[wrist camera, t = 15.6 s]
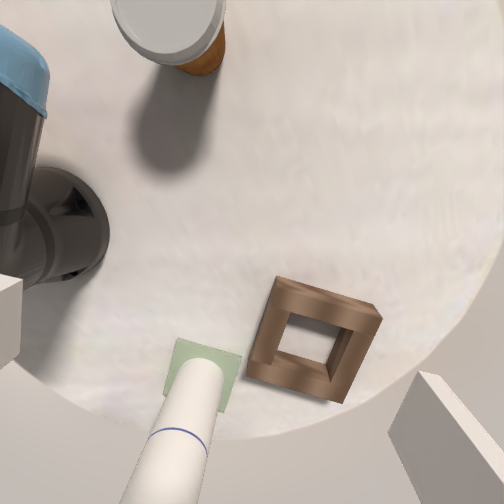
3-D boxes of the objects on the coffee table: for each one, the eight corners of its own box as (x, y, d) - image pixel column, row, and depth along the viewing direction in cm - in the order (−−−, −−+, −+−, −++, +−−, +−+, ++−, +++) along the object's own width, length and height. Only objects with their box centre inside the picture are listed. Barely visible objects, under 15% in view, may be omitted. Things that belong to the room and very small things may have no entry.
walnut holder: (248, 358, 47) (246, 376, 43) (276, 275, 43) (276, 287, 39) (336, 384, 47) (342, 404, 43) (373, 304, 43) (382, 318, 39)
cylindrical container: (233, 378, 47) (193, 607, 23) (203, 405, 49) (136, 642, 25) (198, 349, 46) (116, 557, 22) (168, 377, 48) (63, 598, 24)
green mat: (164, 390, 50) (162, 394, 49) (178, 337, 47) (176, 341, 46) (224, 407, 50) (224, 412, 49) (241, 356, 47) (241, 360, 46)
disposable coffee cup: (239, -7, 34) (222, -92, 22) (239, 91, 37) (224, 59, 25) (153, -4, 34) (93, -86, 23) (160, 91, 37) (110, 61, 26)
